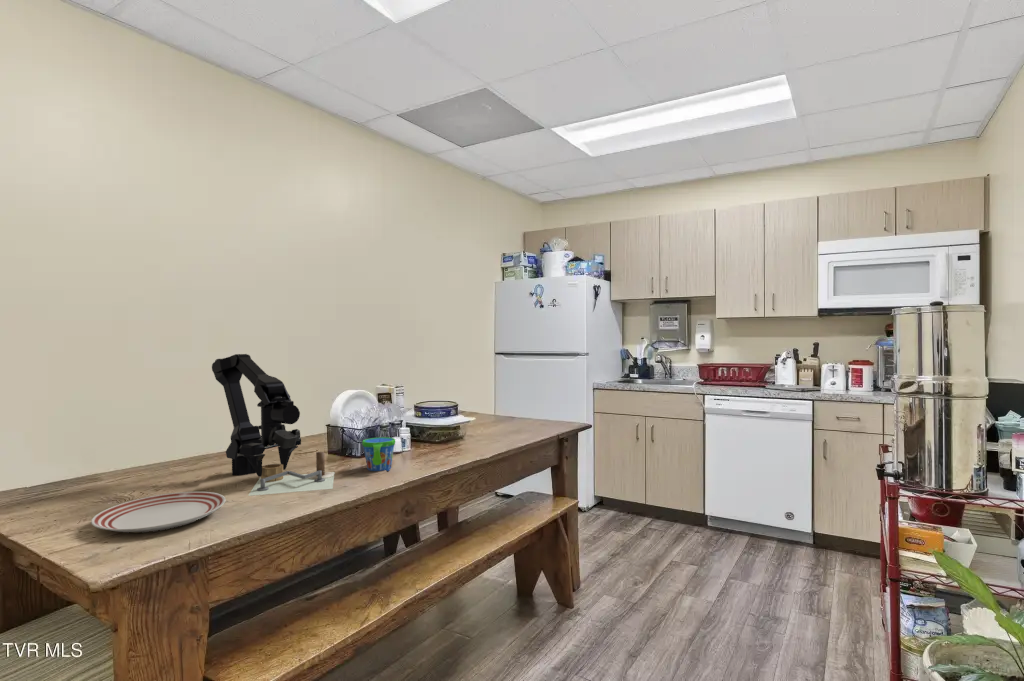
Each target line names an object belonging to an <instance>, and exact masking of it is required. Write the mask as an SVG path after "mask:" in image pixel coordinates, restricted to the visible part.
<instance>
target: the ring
mask: <svg viewBox="0 0 1024 681" xmlns="http://www.w3.org/2000/svg"><path fill="white" fill-rule="evenodd" d="M283 472H284V470H283V464H281V463H271V464H270V463H269V464H265V465H262V476H261V477H260V478H261V479H263V478H266V477H270V476H273V475H276V474H279V473H283ZM282 479H283V476H281V477H278V478H275V479H272V480H269V481H266V482H273V481H279V480H282Z"/></svg>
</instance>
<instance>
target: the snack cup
mask: <svg viewBox="0 0 1024 681" xmlns="http://www.w3.org/2000/svg"><path fill="white" fill-rule="evenodd" d="M361 442H362V443H361V445H362V447H363V449H364V450H363V451H364V457H365V462H366V468H367V470H368V471H369V472H382V471H386V472H388V471H390V470H391V468H392V465H393V457H394V451H395V450H394V448H395V444H396V439H395V438H394V437H387V436H386V437H384V436H383V437H382V436H381V437H371V438H366V439H363V440H362V441H361Z"/></svg>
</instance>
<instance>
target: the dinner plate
mask: <svg viewBox="0 0 1024 681" xmlns="http://www.w3.org/2000/svg"><path fill="white" fill-rule="evenodd" d="M225 503H226V497H225V496H224V495H223V494H220V493H218V492H213V491H211V492H210V491H183V492H171V493H162V494H155V495H151V496H146V497H141V498H137V499H136V498H135V499H133V500H130V501H126V502H125V501H124V502H122V503H120V504H119V503H118V504H117V505H114V506H110V507H109V508H107V509H106V508H105V509H104V510H102V511H100V512H99V513H97V514H96V515H94V516H93V517H92V518H91V521H90V524H91V525H92V527H95V528H96V529H101V530H104V531H105V530H106V531H111V532H112V531H113V532H120V533H129V532H142V533H150V532H149V531H153V532H159V531H158V530H160V531H166V530H171V529H175V528H179V527H183V526H186V525H190V524H191V523H194V522H197V521H199V520H201V519H202V518H205V517H206V516H209V515H211V514H212V513H215V512H216V511H218V510H219V509H220V508H221V507H222V506H223V505H225ZM198 519H199V520H198ZM196 520H197V521H196ZM182 525H183V526H182ZM178 526H179V527H178ZM174 527H175V528H174ZM170 528H171V529H170ZM165 529H166V530H165Z"/></svg>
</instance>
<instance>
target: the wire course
mask: <svg viewBox="0 0 1024 681" xmlns="http://www.w3.org/2000/svg"><path fill="white" fill-rule="evenodd" d="M331 472H332V473H334V474H335V471H331ZM315 475H317V478H318V479H315V480H314V479H308V478H309V477H312V476H315ZM281 476H283V479H282V480H279V481H273V482H266V481H269V480H272V479H275V478H278V477H281ZM334 479H335V475H334V476H333V477H330V478H326V479H324V478H322V471H321V470H319V471H316V470H315V471H313V472H311V473H304V474H301V473H298V472H295V471H293V470H292V471H291V470H285V471H283V473H279V474H276V475H273V476H270V477H266V478H263V479H261V477H258V480H257V482H255V484H254V486H253V488H252V489H251V491H249V493H248V495H247V496H248V497H249V496H251V497H252V496H261V495H262V496H264V495H275V494H277V495H278V494H287V493H300V492H301V493H302V492H310V491H321V490H323V491H325V490H333V488H334Z"/></svg>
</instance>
